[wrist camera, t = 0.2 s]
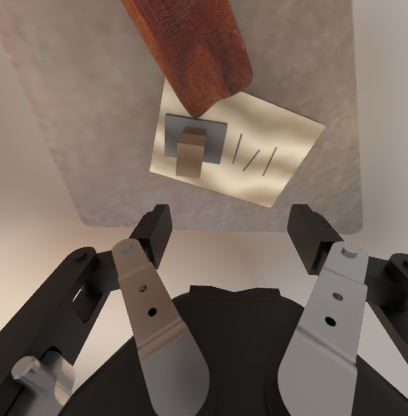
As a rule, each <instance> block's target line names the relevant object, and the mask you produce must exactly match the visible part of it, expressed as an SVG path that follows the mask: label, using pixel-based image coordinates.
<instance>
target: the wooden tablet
mask: <svg viewBox="0 0 408 416" xmlns="http://www.w3.org/2000/svg"><path fill="white" fill-rule="evenodd" d="M121 1H122V2H123V4H124V6H125V8H126V10H127V11H128V13H129V15H130V17H131V18H132V20H133V22H134V24H135V26H136V27H137V29H138V31H139V33H140V34H141V36H142V38H143V39H144V41H145V43H146V45H147V47H148V48H149V50H150V52H151V53H152V55H153V57H154V58H155V60H156V62H157V64H158V65H159V67H160V69H161V70H162V72H163V73H164V75H165V77H166V79H167V80H168V82H169V84H170V85H171V87H172V89H173V91H174V92H175V94H176V96H177V97H178V99H179V100H180V102H181V104H182V105H183V107H184V108H185V109H186V111H187V112H188V113H189V114H190V115H191V116H192V117H194V118H199V117H201V116H202V115H203V114H204V113H205V112H206V111H207V110H209V109H210V107H212V106H213V105H214V104H215V103H216V102H217V101H219V100H222V99H225V98H228V97H231V96H233V95H235V94H237V93H238V92H240V91H242V90H243V89H245V88H246V87H247V86H248V85H249V84H250V83H251V80H252V69H251V66H250V62H249V59H248V56H247V52H246V49H245V46H244V43H243V40H242V38H241V35H240V32H239V29H238V27H237V24H236V21H235V19H234V16H233V13H232V11H231V8H230V6H229V3H228V0H121Z"/></svg>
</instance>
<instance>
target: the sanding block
mask: <svg viewBox="0 0 408 416" xmlns="http://www.w3.org/2000/svg"><path fill="white" fill-rule="evenodd" d="M227 127H228V124H227V123H224V122H218V121H212V120H206V119H199V118H193V117H187V116H181V115H175V114H169V113H167V114H166V115H165V144H164V156H166V157H173V158H177V160H176V176H182V177H189V178H196V179H200V175H201V168H202V162H207V163H214V164H220V161H221V156H222V151H223V146H224V142H225V137H226V132H227Z"/></svg>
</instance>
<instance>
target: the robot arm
mask: <svg viewBox="0 0 408 416" xmlns="http://www.w3.org/2000/svg"><path fill="white" fill-rule="evenodd" d="M287 229H288V234H289V236H290V238H291V240H292V242H293V244H294V246H295V248H296V250H297V252H298V254H299V256H300V258H301V260H302V262H303V264H304V266H305V268H306V270H307V272H308V274H309V275H318V279H317V282H316V284H315V286H314V288H313V291H312V293H311V295H310V298H309V300H308V302H307V305H306V307H305V308H304V307H302V306H301V305H299V304H298V303H296V302H294V301H292V300H290V299H287V298H285V297H282V296H281V295H280V291H279V289H274V288H273V289H272V288H253V289H248V290H243V291H238V292H230V291H227V290H224V289H220V288H216V287H212V286H194V285H191V286H190V292H188V293H185V294H181V295H179V296H177V297H175V298H173V299H172V300H171V298H170V296H169V294H168V292H167V290H166V288H165V287H164V285H163V283H162V281H161V279H160V277H159V275H158V273H157V271H156V270H157V269H158V267H159V265H160V262H161V259H162V257H163V253H164V251H165V248H166V245H167V243H168V240H169V237H170V234H171V232H172V220H171V214H170V209H169V205H168V204H157V205H156V206H155V208H154V209H153V211H152V212H148V213H147V214H145V215H144V216H143V217H142V219H141V220H140V222H139V223H138V226H136V228H135V229H134V231H133V232H132V234H131V235H130V237H129V238H128V239H125V240H122V241H120V242H118V243H117V244H116V245H115V246H114V247H113V249H112V250H111V251H107V252H102V253H96V251H95V249H94V248H92V247H83V248H80V249H77V250H75V251H73V252H72V253H71V254H69V255H68V256H67V257H66V258H65V259H64V260H63V261H62V263H61V264H60V265H59V266H58V267H57V268H56V269H55V270H54V272H53V273H52V274H51V275H50V276H49V277H48V278H47V280H46V281H45V282H44V283H43V284H42V285H41V286H40V287H39V289H38V290H37V291H36V292H35V293H34V294H33V295H32V296H31V297H30V299H29V300H28V301H27V302H26V303H25V304H24V305H23V307H22V308H21V309H20V310H19V311H18V312H17V313H16V314H15V315H14V316H13V318H12V319H11V320H10V321H9V322H8V323H7V324H6V326H5V327H4V328H3V329H2V330H1V331H0V416H408V399H407V398H406V397H405V396H404V395H403V394H402V393H400V392H399V391H398V390H397V389H396V388H395V387H393V385H392V384H390V383H389V382H388V381H387V380H386V379H385V378H383V377H382V376H381V375H380V374H379V373H378V372H377V371H376V370H375V369H373V368H372V367H371V366H370V365H369V364H367V362H366V361H364V360H363V359H362V358H361V357H360V356H359V355H358V354H357V349H358V344H359V338H360V331H361V325H362V319H363V313H364V307H365V302H368V304H369V305H370V307H371V308H372V310H373V311H374V313H375V314H376V316H377V318H378V319H379V321H380V322H381V324H382V325H383V327H384V328H385V330H386V331H387V333H388V335H389V336H390V338H391V339H392V341H393V342H394V344H395V345H396V347H397V348H398V350H399V351H400V353H401V355H402V356H403V358H404V359H405V361H406V362H407V364H408V254H403V253H397V254H393V255H392V256H391V257H390V259H389V260H383V259H378V258H374V257H369V256H368V254H367V253H366V251H364V250H363V249H362V248H360V247H359V246H357V245H355V244H352V243H349V242H344V240H343V239H342V238H341V237H340V236H339V234H338V233H337V232H336V231H335V230H334V229H333V228H332V226H331V225H330V224H329V223H328V222H327V220H326V219H325V218H324V217H323V216H322V215H320V214H318V213H317V212H313V211H312V210H311V209H310V207H309V206H308V205H307V204H293V205H292V207H291V212H290V216H289V220H288V226H287ZM80 289H81V291H80V292H79V294H78V295H77V297H76V298H75V300H74V301H73V299H74V297H75V296H76V294H77V293H78V291H79V290H80ZM118 289H121V291H122V295H123V298H124V302H125V305H126V309H127V313H128V316H129V320H130V323H131V327H132V330H133V334H134V335H133V336H132V337H131V338H130V339H129V340H128V341H127V342H126V343H125V344H124V345H123V346H122V347H121V348H120V349H119V350H118V351H117V352H115V353H114V354H113V355H112V356H111V357H110V358H109V359H108V360H107V361H106V362H105V363H104V364H103V365H102V366H101V367H100V368H99V369H98V370H97V371H96V372H95V373H94V374H93V375H91V376H90V377H89V378H88V379H87V380H86V381H85V382H84V383H83V384H82V385H81V386H80V387H79V388H78V389H77V390H76V391H75V393H74V394H72V396H71V393H72V387H73V384H74V381H75V370H74V368H73V365H74V363H75V361H76V359H77V357H78V355H79V353H80V351H81V349H82V347H83V345H84V343H85V341H86V339H87V337H88V335H89V333H90V331H91V329H92V327H93V325H94V323H95V321H96V319H97V317H98V315H99V313H100V311H101V309H102V307H103V306H104V303H105V302H106V300H107V298H108V295H109V294H110V292H111V291H114V290H118ZM70 396H71V397H70Z"/></svg>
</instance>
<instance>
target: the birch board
mask: <svg viewBox="0 0 408 416" xmlns="http://www.w3.org/2000/svg"><path fill="white" fill-rule="evenodd" d="M167 113H169V114H175V115H181V116H187V117H192V116H191V115H190V114H189V113H188V112H187V111H186V109H185V108H184V107H183V105H182V104H181V102H180V100H179V99H178V97H177V96H176V94H175V92H174V91H173V89H172V87H171V85H170V84H169V82H168V80H167V79H166V77H165V82H164V88H163V94H162V100H161V106H160V112H159V118H158V124H157V130H156V136H155V142H154V148H153V154H152V160H151V166H150V171H151V172H154V173H158V174H161V175H164V176H167V177H171V178H174V179H177V180H181V181H184V182H187V183H190V184H194V185H197V186H200V187H203V188H207V189H210V190H213V191H217V192H220V193H223V194H226V195H230V196H233V197H236V198H240V199H243V200H246V201H249V202H253V203H256V204H259V205H262V206H266V207H269V208H270V207H271V206H272V204H273V203H274V202H275V200H276V199H277V197H278V196H279V194H280V193H281V191H282V190H283V188H284V187H285V185H286V184H287V182H288V181H289V180H290V178H291V177H292V175H293V174H294V172H295V171H296V169H297V168H298V166H299V165H300V163H301V162H302V160H303V159H304V158H305V156H306V155H307V153H308V152H309V150H310V149H311V147H312V146H313V144H314V143H315V141H316V140H317V138H318V137H319V136H320V134H321V133H322V131H323V130H324V128H325V127H326V126H325V125H322V124H320V123H318V122H315V121H313V120H310V119H308V118H305V117H303V116H301V115H298V114H296V113H293V112H291V111H288V110H286V109H283V108H281V107H279V106H276V105H274V104H271V103H269V102H266V101H264V100H261V99H259V98H257V97H254V96H252V95H249V94H247V93H244V92H242V91H240V92H238V93H237V94H235V95H233V96H231V97H228V98H225V99H222V100H219V101H217V102H216V103H215V104H214V105H213V106H212V107H210V109H209V110H207V111H206V112H205V113H204V114H203V115H202V116H201V117H199V119H206V120H212V121H218V122H224V123H227V124H228V127H227V132H226V137H225V142H224V146H223V151H222V156H221V161H220V164H214V163H207V162H202V168H201V175H200V179H196V178H189V177H182V176H176V160H177V158H173V157H166V156H164V144H165V115H166V114H167ZM193 118H194V117H193Z"/></svg>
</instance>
